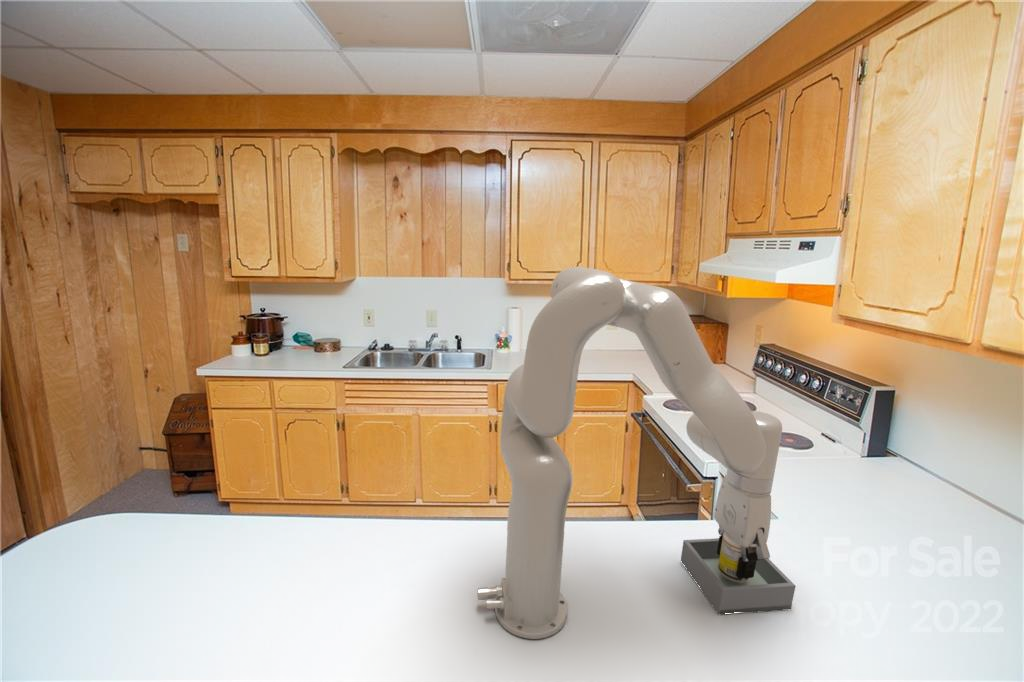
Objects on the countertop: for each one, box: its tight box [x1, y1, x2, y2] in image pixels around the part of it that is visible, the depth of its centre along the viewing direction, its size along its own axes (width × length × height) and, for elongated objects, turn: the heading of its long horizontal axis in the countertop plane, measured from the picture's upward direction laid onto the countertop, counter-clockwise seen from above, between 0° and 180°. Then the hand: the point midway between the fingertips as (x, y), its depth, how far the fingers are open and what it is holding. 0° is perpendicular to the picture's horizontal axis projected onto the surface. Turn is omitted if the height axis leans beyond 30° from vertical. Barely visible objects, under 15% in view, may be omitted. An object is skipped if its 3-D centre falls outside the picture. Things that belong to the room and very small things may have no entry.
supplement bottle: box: [718, 531, 753, 582], centre depth 89 cm, size 6×6×10 cm
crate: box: [680, 537, 796, 615], centre depth 90 cm, size 14×14×5 cm
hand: (734, 564), depth 90 cm, fingers closed on supplement bottle, 5 cm apart
